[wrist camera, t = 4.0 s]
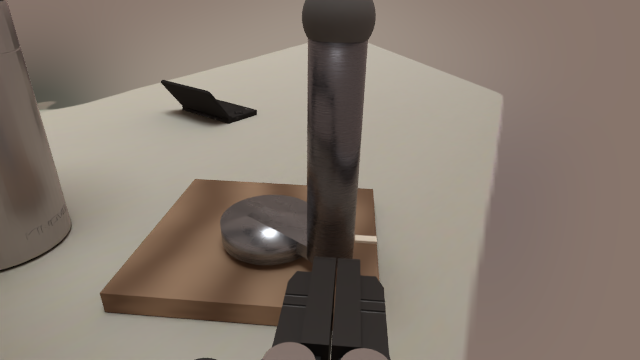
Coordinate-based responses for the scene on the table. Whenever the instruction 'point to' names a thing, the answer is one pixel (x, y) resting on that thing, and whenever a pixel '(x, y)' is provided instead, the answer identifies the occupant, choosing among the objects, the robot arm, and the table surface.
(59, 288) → the table surface
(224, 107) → the handheld gaming console
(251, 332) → the table surface
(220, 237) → the walnut stand base
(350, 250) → the grey upright post stand
